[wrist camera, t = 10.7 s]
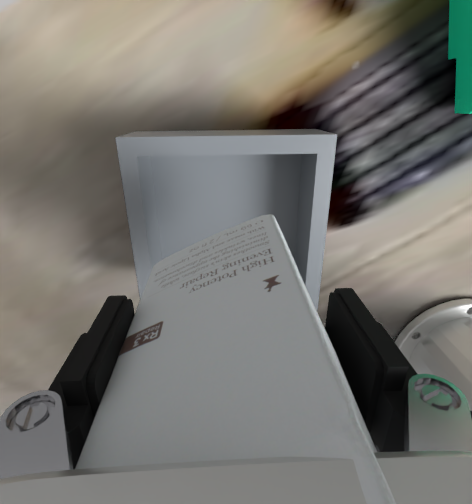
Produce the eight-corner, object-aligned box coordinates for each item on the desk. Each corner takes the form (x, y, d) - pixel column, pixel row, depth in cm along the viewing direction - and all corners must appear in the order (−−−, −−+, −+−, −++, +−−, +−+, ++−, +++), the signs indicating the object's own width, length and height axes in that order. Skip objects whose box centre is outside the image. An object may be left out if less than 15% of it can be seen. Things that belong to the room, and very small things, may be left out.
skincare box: (270, 206, 14) (464, 585, 3) (306, 287, 16) (511, 712, 5) (146, 264, 15) (-60, 726, 4) (194, 334, 17) (145, 789, 6)
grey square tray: (294, 267, 30) (316, 316, 23) (161, 271, 29) (143, 322, 22) (304, 126, 25) (337, 134, 18) (145, 128, 24) (115, 137, 17)
